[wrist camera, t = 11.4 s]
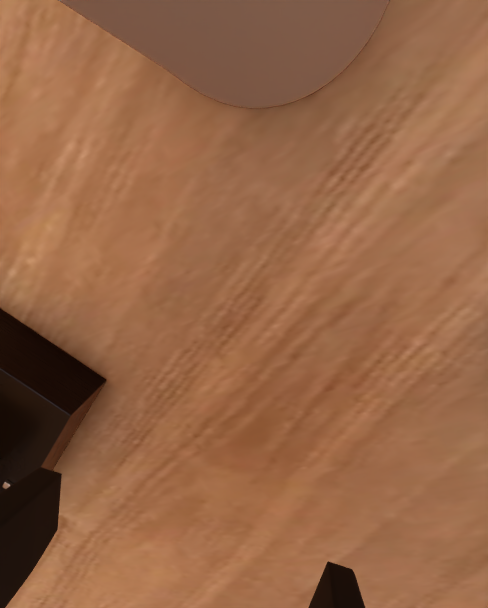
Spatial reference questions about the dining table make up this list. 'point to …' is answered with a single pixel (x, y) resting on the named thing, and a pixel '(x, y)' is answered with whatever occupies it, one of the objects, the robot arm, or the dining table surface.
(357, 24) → the brown rounded slab
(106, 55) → the dining table surface
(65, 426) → the plate
